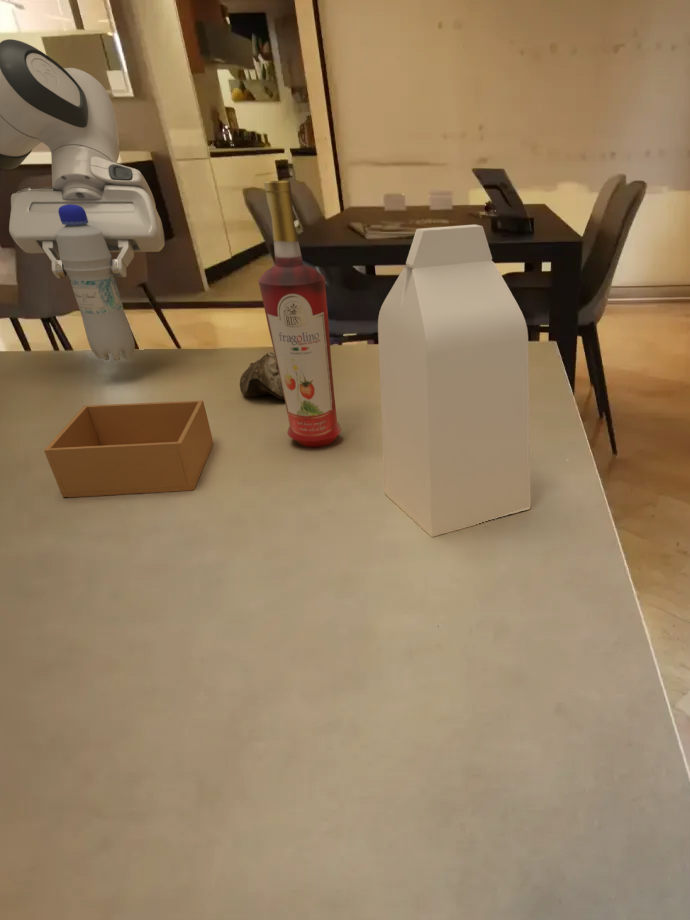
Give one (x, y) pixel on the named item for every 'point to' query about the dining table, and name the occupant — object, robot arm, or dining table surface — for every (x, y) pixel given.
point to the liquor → (299, 328)
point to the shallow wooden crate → (131, 449)
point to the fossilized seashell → (262, 378)
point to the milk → (454, 385)
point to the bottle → (93, 284)
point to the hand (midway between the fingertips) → (90, 275)
